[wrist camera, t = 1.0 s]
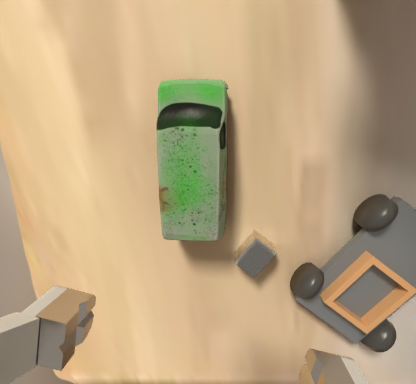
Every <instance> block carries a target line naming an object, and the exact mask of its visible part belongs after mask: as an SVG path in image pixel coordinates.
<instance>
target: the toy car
mask: <svg viewBox="0 0 416 384" xmlns="http://www.w3.org/2000/svg"><path fill="white" fill-rule="evenodd" d="M226 89H228V85H227V84H226V83H225V81H222V80H208V79H183V80H169V81H162V82H161V83H160V85H159V88H158V117H157V158H158V173H159V200H160V212H161V224H162V234H163V238H164V239H167V240H192V241H217V240H219V239H220V238H221V237H222V236H223V233H224V229H225V217H226V191H227V114H228V98H227V90H226Z"/></svg>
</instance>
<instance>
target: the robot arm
mask: <svg viewBox="0 0 416 384" xmlns="http://www.w3.org/2000/svg"><path fill="white" fill-rule="evenodd" d="M95 301H96V297H95V295H92V294H88V293H85V292H81V291H78V290H74V289H69V288H66V287H62V286H58V285H57V286H54V287H52V288H51V289H50V290H48V291H47V292H46V293H45V294H43V295H42V296H41V297H40V298H38V299H37V300H36V301H35V302H34V303H32V304H31V305H30V306H28V307H27V308H26V309H25V310H24V311H22V312H21V313H18V312H15V313H12V314H9V315H6V316H3V317H0V384H9V383H10V382H12V381H14V380H15V379H17V378H19V377H20V376H22V375H23V374H25V373H27V372H28V371H30V370H31V369H33V368H35V367H36V365H38V366H42V367H46V368H51V369H55V370H60V371H62V369H63V368H64V366H65V365H66V364H67V362H68V361H69V360H70V358H71V357H72V356H73V354H74V351H75V346H77V345H79V344H81V343H82V342H83V341H84V339H85V338H86V336H87V335H88V333H89V331H90V328H91V326H92V322H93V317H94V315H93V313H92V311H91V309H92V308H93V307H94V306H95ZM305 359H306V362H307V364H305V365H304V366H302V367H301V370H300V373H299V382H298V384H368V382H367V380H366V379H365V377H364V375H363V374H362V372H361V370H360V369H359V367H358V365H357V363H356V362H355V361H354V360H353V359H352V358H350V357H345V356H341V355H335V354H331V353H326V352H322V351H318V350H314V349H309V350H308V351H307V353H306V355H305Z"/></svg>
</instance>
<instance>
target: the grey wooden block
mask: <svg viewBox="0 0 416 384" xmlns="http://www.w3.org/2000/svg"><path fill="white" fill-rule="evenodd" d="M275 254H276V250H275V247H274V245H273V243H272V242H270V241H269V240H268V239H266V238H265V237H264V236H262V235H261V234H260V233H258V232H257V231H256V230H253V232H252V233H251V234H250V235H249V236H248V237H247V239H246V240H245V241H244V242H243V243H242V244H241V245H240V247H239V248H238V249H237V250H236V251H235V252H234V259H235V263H236V264H237V265H238V266H239V267H241V268H242V269H243V270H245V271H246V272H248V273H249V274H250V275H252V276H253V277H255V276H256V275H257V274H258V273H259V272H260V271H261V270H262V269H263V268H264V267H265V266H266V265H267V263H268V262H269V261H270V260H271V259H272V258H273V257H274V255H275Z"/></svg>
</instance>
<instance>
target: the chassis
mask: <svg viewBox="0 0 416 384" xmlns="http://www.w3.org/2000/svg"><path fill="white" fill-rule="evenodd" d="M354 221H355V222H356V223H357V224H358V225H360V226H361V227H362V229H361V230H360V231H359V232H358V233H357V234H356V235H355V236H354V237H353V238H352V239H351V240H350V241H349V242H348V243H347V244H346V245H345V246H344V247H343V248H342V249H341V250H340V251H339V252H338V253H337V254H336V255H335V256H334V257H333V258H331V259H330V260H329V261H328V262H327V263H326V264H325V265H324V266H323V267H322V268H321V269H319V268H317V267H316V266H315V265H313V264H312V263H305V264H303V265H301V266H300V267H299V268H298V269H297V270H296V271H295V272H294V274H293V276H292V278H291V281H290V288H291V290H292V291H293V292H294V293H295V295H294V296H295V298H296V301H298V302H299V303H300V304H302V305H303V306H304V307H306V308H307V309H309V310H310V311H311V312H313V313H314V314H315V315H317V316H318V317H319V318H321V319H322V320H323V321H325V322H326V323H328V324H329V325H330V326H332V327H333V328H334V329H336V330H337V331H338V332H340V333H341V334H343V335H344V336H345V337H347V338H348V339H349V340H351V341H352V342H353V343H355V344H357V343H358V342H359V341H361V342H362V343H363V344H365V345H366V346H367V347H369V348H370V349H372V350H373V351H376V352H384V351H387V350H389V349H390V348H391V347H392V346H393V344H394V343H395V340H396V330H395V328H394V326H393V325H392V323H391V322H389V321H388V320H387V318H388V317H389V316H390V315H392V314H393V313H394V312H395V311H396V310H398V309H399V308H400V307H401V306H402V305H404V304H405V303H406V302H407V301H408V300H409V299H411V298H412V297H413V296H414V295H415V294H416V210H415V209H414V208H412V207H411V206H410V205H408V204H407V203H406V202H405V201H403V200H402V199H401V198H398V197H395V196H394V197H393V198H392V199H391V200H390V199H389V198H388V197H387V196H385V195H382V194H379V195H374V196H372V197H370V198H368V199H366V200H365V201H364V202H362V203H361V204H360V205H359V207H358V208H357V209H356V211H355V213H354Z"/></svg>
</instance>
